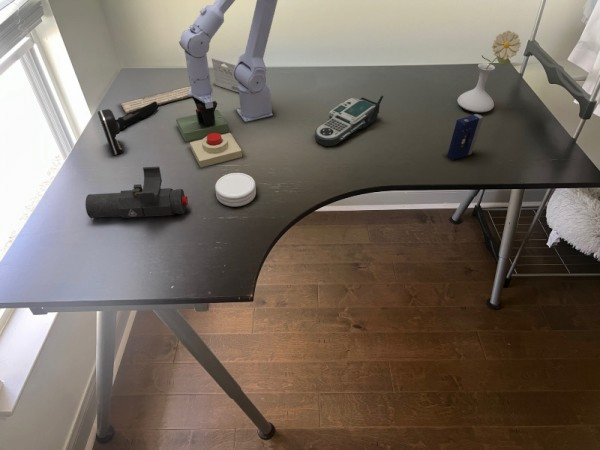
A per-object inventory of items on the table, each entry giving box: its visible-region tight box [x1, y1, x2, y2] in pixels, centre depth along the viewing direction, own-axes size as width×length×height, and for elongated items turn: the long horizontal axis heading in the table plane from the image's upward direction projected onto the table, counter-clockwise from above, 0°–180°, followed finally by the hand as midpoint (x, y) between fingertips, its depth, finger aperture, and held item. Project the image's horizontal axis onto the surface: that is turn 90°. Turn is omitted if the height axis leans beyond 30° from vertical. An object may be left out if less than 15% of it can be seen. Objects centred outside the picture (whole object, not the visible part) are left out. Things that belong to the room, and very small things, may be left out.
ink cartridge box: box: [211, 57, 239, 94], centre depth 151 cm, size 2×11×10 cm, turn 58°
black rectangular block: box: [195, 108, 215, 123], centre depth 132 cm, size 5×2×4 cm, turn 115°
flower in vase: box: [456, 29, 522, 113], centre depth 137 cm, size 13×11×25 cm
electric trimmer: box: [116, 102, 159, 131], centre depth 138 cm, size 4×16×3 cm, turn 142°
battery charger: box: [97, 108, 124, 156], centre depth 124 cm, size 7×4×11 cm, turn 28°
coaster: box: [214, 172, 257, 208], centre depth 112 cm, size 10×10×4 cm
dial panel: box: [175, 109, 229, 143], centre depth 134 cm, size 13×9×3 cm
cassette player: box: [446, 113, 484, 161], centre depth 122 cm, size 7×2×12 cm, turn 118°
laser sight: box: [84, 166, 189, 219], centre depth 104 cm, size 10×22×10 cm, turn 95°
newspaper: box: [120, 86, 191, 115], centre depth 147 cm, size 24×7×2 cm, turn 121°
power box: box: [189, 132, 243, 168], centre depth 125 cm, size 12×10×4 cm
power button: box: [207, 133, 222, 146], centre depth 123 cm, size 4×4×2 cm
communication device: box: [314, 95, 384, 147], centre depth 133 cm, size 12×24×9 cm, turn 137°
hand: (206, 119), depth 133 cm, fingers open, 6 cm apart
